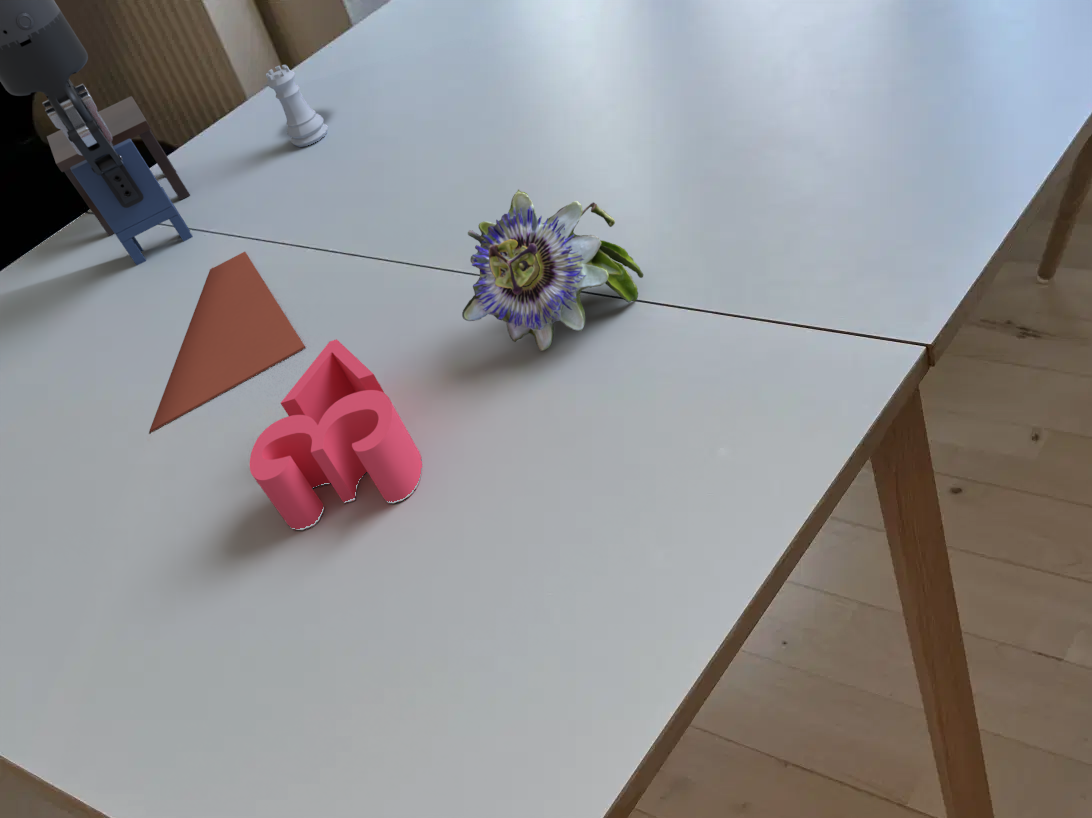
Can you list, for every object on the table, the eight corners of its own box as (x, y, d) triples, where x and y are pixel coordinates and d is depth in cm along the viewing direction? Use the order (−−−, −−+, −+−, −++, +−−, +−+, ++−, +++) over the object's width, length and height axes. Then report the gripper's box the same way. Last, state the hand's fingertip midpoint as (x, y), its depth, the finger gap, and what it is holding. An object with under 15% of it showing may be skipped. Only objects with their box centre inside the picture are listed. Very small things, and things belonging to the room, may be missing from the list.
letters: (303, 408, 85) (271, 358, 82) (426, 371, 84) (399, 319, 81) (280, 537, 75) (243, 486, 72) (420, 496, 74) (389, 443, 71)
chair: (135, 255, 114) (63, 151, 106) (188, 228, 115) (121, 123, 107) (144, 277, 109) (70, 170, 101) (200, 248, 111) (131, 140, 103)
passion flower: (571, 397, 86) (438, 335, 80) (566, 298, 93) (443, 232, 86) (666, 314, 80) (529, 239, 73) (654, 214, 86) (528, 135, 79)
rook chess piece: (325, 142, 122) (290, 74, 116) (288, 152, 123) (252, 85, 117) (333, 123, 125) (300, 56, 120) (297, 133, 126) (263, 67, 120)
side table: (95, 207, 127) (46, 136, 120) (175, 167, 129) (131, 95, 122) (107, 237, 119) (56, 164, 113) (192, 195, 121) (146, 120, 115)
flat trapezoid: (112, 322, 105) (110, 320, 105) (245, 252, 108) (244, 251, 107) (150, 432, 89) (149, 431, 89) (306, 347, 92) (304, 346, 92)
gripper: (-30, 27, 98) (87, 196, 110) (-22, 62, 88) (106, 243, 100) (49, -9, 100) (157, 161, 111) (66, 22, 90) (182, 205, 102)
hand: (132, 200), depth 106 cm, fingers closed on chair, 1 cm apart
